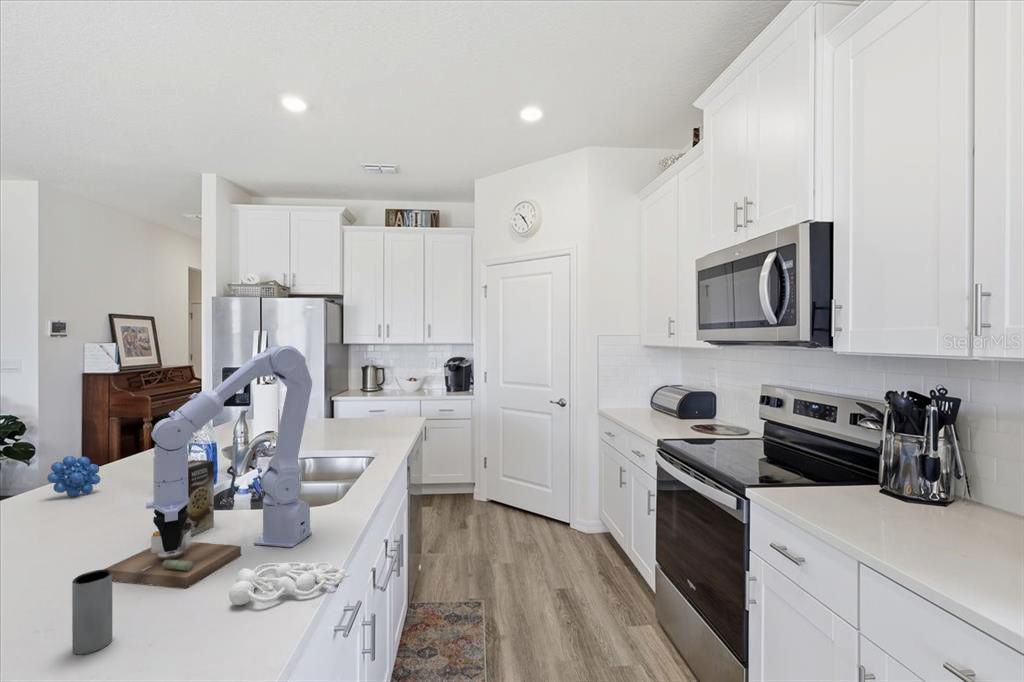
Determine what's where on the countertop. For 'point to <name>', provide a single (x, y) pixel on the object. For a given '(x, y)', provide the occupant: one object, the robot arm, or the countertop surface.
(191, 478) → the coffee box
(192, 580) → the base
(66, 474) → the blue ball cluster
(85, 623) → the planter
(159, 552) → the knob
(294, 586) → the tangled rod sculpture
